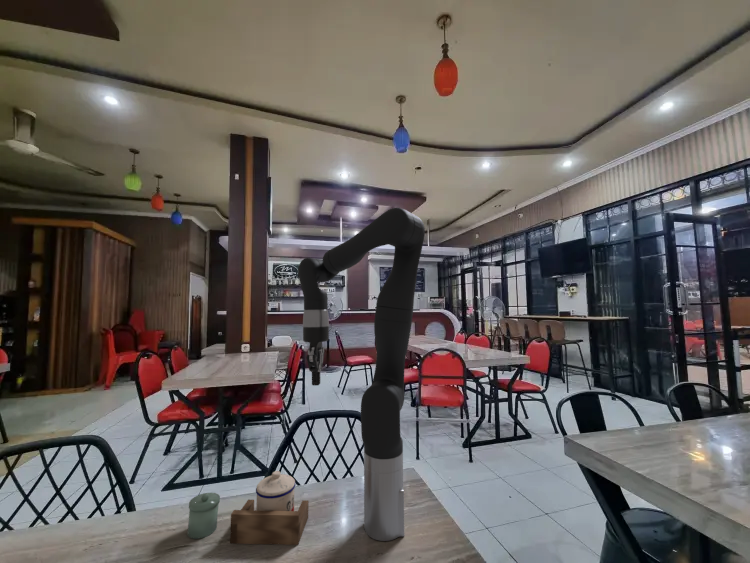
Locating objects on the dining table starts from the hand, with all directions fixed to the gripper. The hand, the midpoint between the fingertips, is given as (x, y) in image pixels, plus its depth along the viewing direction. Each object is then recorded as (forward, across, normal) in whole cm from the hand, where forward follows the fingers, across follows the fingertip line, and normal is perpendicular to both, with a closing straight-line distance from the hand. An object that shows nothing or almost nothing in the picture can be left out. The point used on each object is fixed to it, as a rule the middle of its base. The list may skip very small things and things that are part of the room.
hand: (316, 384), depth 94 cm
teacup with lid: (+29, -14, +6) cm, 33 cm away
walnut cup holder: (+29, -18, +6) cm, 34 cm away
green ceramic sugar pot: (+28, -18, +22) cm, 41 cm away
